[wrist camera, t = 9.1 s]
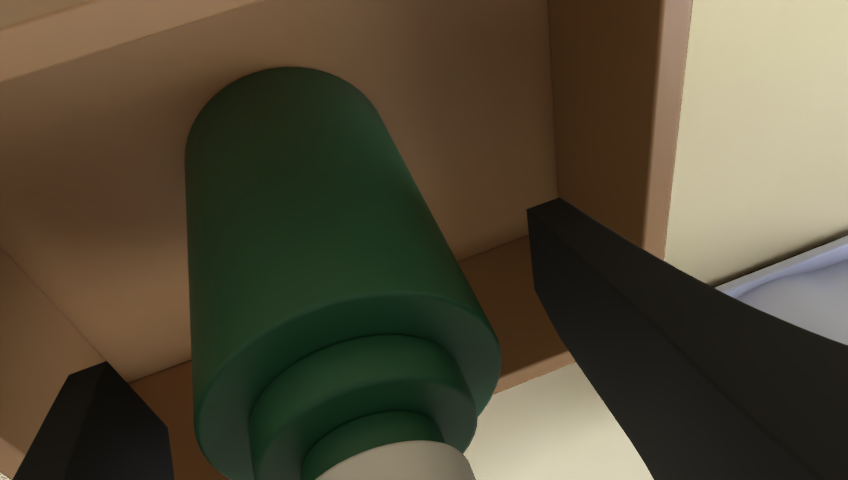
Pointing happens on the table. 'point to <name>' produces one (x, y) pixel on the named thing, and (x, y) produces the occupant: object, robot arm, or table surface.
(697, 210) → the table surface
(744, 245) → the table surface
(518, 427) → the table surface
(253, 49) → the box
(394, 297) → the bottle
